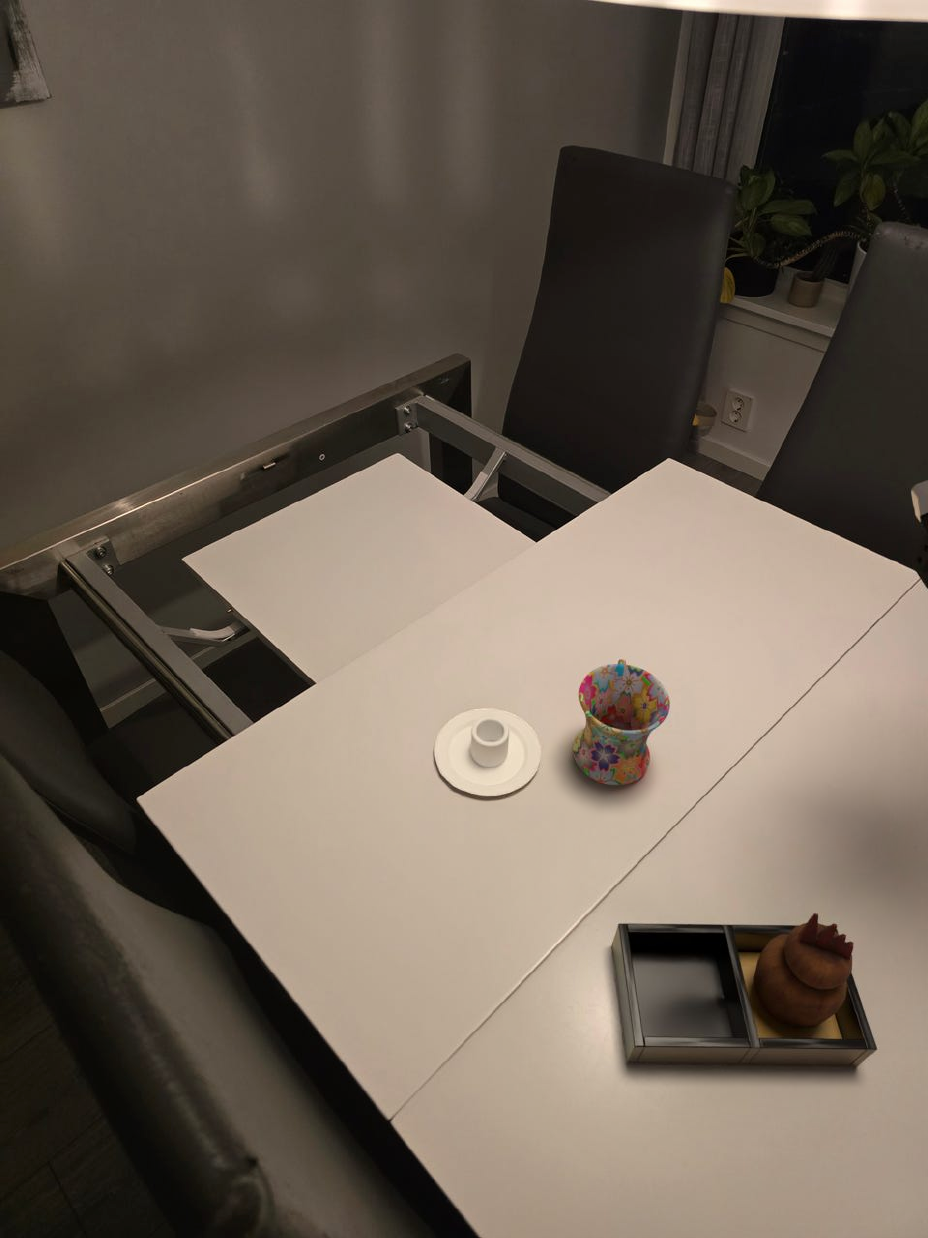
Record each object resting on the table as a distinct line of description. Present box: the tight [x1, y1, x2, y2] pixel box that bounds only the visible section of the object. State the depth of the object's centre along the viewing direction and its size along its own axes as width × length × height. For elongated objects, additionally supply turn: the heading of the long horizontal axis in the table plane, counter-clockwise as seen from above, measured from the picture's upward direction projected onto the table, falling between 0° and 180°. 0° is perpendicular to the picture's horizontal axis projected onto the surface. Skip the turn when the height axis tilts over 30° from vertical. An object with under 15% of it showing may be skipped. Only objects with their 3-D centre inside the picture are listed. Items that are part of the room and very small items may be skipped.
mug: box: [572, 658, 671, 786], centre depth 85 cm, size 12×9×11 cm
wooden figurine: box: [753, 912, 854, 1028], centre depth 64 cm, size 7×6×15 cm
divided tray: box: [610, 922, 878, 1068], centre depth 68 cm, size 19×10×5 cm, turn 89°
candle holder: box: [433, 707, 542, 797], centre depth 87 cm, size 12×12×4 cm
